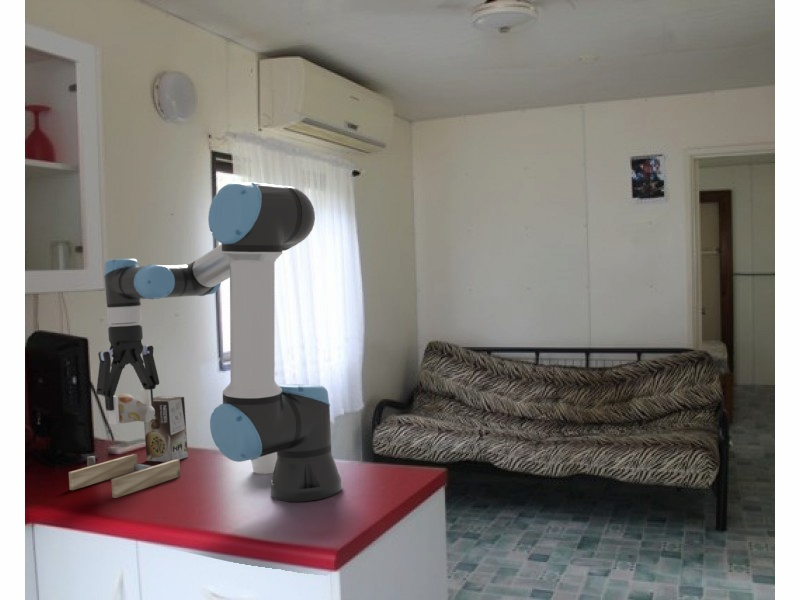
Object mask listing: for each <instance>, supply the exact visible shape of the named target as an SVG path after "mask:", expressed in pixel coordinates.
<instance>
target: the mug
mask: <svg viewBox="0 0 800 600" xmlns="http://www.w3.org/2000/svg"><path fill="white" fill-rule="evenodd" d="M115 396H118V408H119V424H128V423H133V422H142V423H144V422H149V421H151V420H152V419H155V416H154V415H155V410H154V408H153V407H152V406H149V405H145V404H143V403H141V400H139V399H137V398H136V397H135V396H133V395H131V394H129V393H125V392H120V393H117V394H116V395H115Z"/></svg>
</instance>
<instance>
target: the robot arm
mask: <svg viewBox="0 0 800 600" xmlns="http://www.w3.org/2000/svg"><path fill="white" fill-rule="evenodd" d="M315 221H316V213H315V209H314V206H313V204H312V200H310V199H309V197H308V196H307V195H306V194H305V193H304V192H303V191H302V190H300V189H298V188H295V187H294V186H288V185H276V184H268V183H258V182H249V181H246V182H231V183H227V184H225V185H224V186H223V187H221V188H220V189H219V190H218V192H217V194H215V195H214V197H213V199H212V201H211V204H210V206H209V211H208V226H209V227H208V228H209V231H210V232H211V234H212V237H213V239H214V240H215V241H217V242H218V243H220V244H218V245H217V246H216V247H215V248H213V249H211V250H209V251H208V252H207V253H205V254H204V255H202V256H201V257H199V258H197V259H196V260H194V261H192V262H190V263H188V264H187V263H186V264H171V265H170V264H167V265H166V264H164V265H163V264H162V265H161V264H147V265H141V266H139V262H138V260H137V259H136V258H117V259H107V260H106V261H105V263H104V275H103V277H104V286H105V289H104V290H105V298H106V299H105V300H106V312H107V324H108V325H110V326H108V328H107V332H108V334H107V335H108V341H109V343H110V347H109V350H104V351H99V352H98V360H99V368H98V374H97V382H96V383H97V384H96V391H95V394H97V395H98V396H102V397H104V403H105V405H104V406H105V410H106V411H108V413H107V414H108V423H109V425H117V426H118V425H120V423H119V408H118V396H116V395H115V393H116V391H117V387H118V384H119V381H120V378H121V375H122V371H123V369H125V367H126V365H130V366H131V367H133V370H134V371H135V373H136V376H137V378H138V379H139V382H140V383H141V385H142V389H140V402H141V403H143V404H145V405H149V406H151V402H153V398H154V392H153V390H155V389H156V387H157V386H158V385H159V384H160V380H159V379H160V378H159V374H158V370H157V365H156V362H155V358H154V346H153V345H143V343H142V340H143V339H144V336H143V325H141V324H140V323H142V322H143V319H142V318H143V315H142V304H141V300H142V299H143V300H144V299H145V300H147V299H148V300H155V299H156V300H158V299H165V298H179V297H197V296H198V297H204V296H207V295H213V294H215V293H216V292H217V291H219V288H220V287H221V284H222V282H224V281H226V280H228V279H229V324H230V325H229V328H230V333H229V335H230V336H229V337H230V339H229V340H230V341H229V342H230V344H229V345H230V351H229V353H230V356H229V357H230V360H229V361H230V373H229V374H230V377H229V378H230V382H229V384H228V385H227V386H226V387H225V388H224V389H223V390H222V403H221V404H219V405H218V406H216V407H215V408H214V409H213V412H211V415H210V419H209V428H210V429H209V430H210V433H211V437H212V440H213V442H214V444H215V447H217V448H218V450H219V452H220V453H221V454H222V455H223V456H224V457H226V458H227V459H228V460H230V461H233V462H237V463H239V462H247V461H249V460H250V461H251V460H254V459H257V458H259V457H262V456H265V455H268V454H272V453H275V452H277V461H276V465H275V468H274V473H272V477H271V481H270V486H269V487H270V488H269V489H270V496H271V497H272V498H274V499H275V500H279V501H284V502H308V501H309V502H312V501H317V500H321V499H326V498H330V497H333V496H334V495H337V494H339V493H340V492H341V491H342V476H341V474H340V473H339V470H338V467H337V463H336V462H335V458H334V456H333V451H332V433H331V432H332V431H331V414H330V413H331V410H330V409H331V408H330V407H331V403H330V402H329V401H330V400H329V392H328V389H327V388H326V387H324V386H323V385H319V384H317V385H316V384H300V383H299V384H298V383H297V384H296V383H295V384H294V383H289V384H287V383H286V384H285V383H284V384H283V383H282V384H277V383H276V381H275V378H276V377H275V374H276V373H275V370H276V369H275V368H276V367H275V352H276V351H275V343H276V342H275V341H276V339H275V331H276V330H275V324H276V322H275V317H276V316H275V313H276V311H275V310H276V309H275V304H276V303H275V302H276V301H275V299H276V298H275V296H276V295H275V293H276V292H275V289H276V288H275V273H276V272H275V263H276V260H278V259H279V257H280V256H281V255H282V254H283V252H284V251H287V250H289V249H291V248H294V247H295V246H297V245H298V244H300V243H302V242H303V241H304V240H306V238H308V236H309V235H310V234H311V232H312V231H313V227H314V226H315V223H316V222H315ZM141 355H142V356H141Z"/></svg>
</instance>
